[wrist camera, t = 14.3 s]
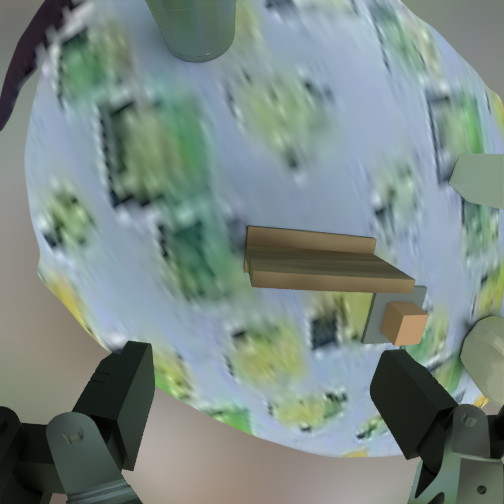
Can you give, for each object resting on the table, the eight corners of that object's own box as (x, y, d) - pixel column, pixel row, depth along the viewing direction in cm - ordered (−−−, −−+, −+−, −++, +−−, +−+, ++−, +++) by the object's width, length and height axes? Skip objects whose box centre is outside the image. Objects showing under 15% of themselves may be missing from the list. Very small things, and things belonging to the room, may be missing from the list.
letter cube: (388, 301, 42) (403, 315, 37) (412, 301, 42) (428, 314, 38) (380, 331, 43) (393, 346, 38) (404, 330, 44) (418, 344, 39)
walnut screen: (248, 225, 38) (255, 247, 27) (373, 237, 40) (419, 260, 28) (243, 269, 40) (249, 308, 28) (365, 277, 42) (407, 311, 30)
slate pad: (375, 284, 42) (378, 286, 41) (424, 286, 43) (427, 287, 42) (361, 341, 44) (362, 344, 44) (408, 338, 45) (411, 341, 45)
